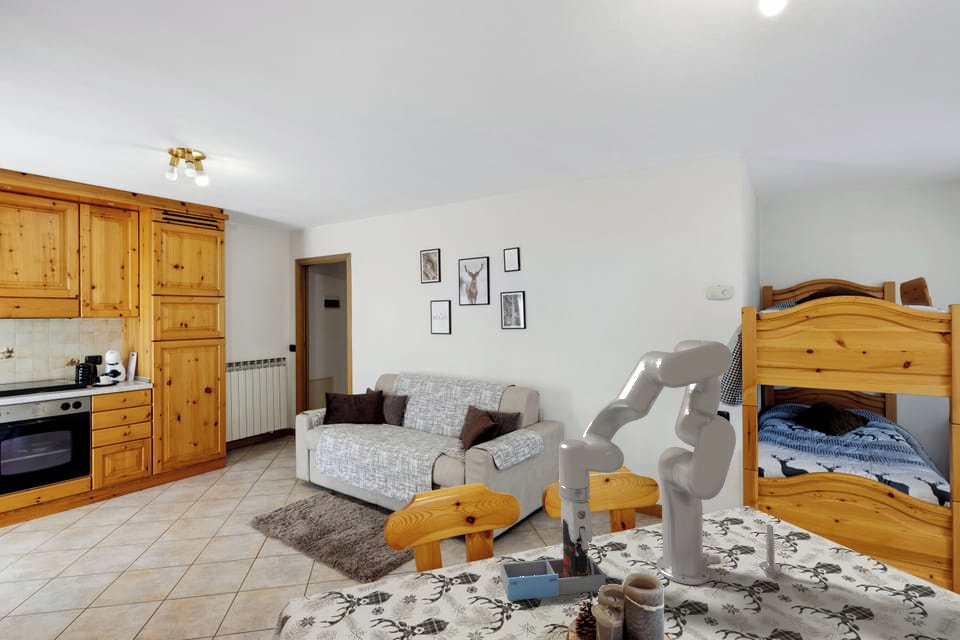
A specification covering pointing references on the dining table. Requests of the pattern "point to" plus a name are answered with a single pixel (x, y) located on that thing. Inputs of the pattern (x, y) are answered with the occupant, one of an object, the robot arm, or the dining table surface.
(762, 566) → the screw
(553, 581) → the two-compartment tray
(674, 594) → the dining table surface
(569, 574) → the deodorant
